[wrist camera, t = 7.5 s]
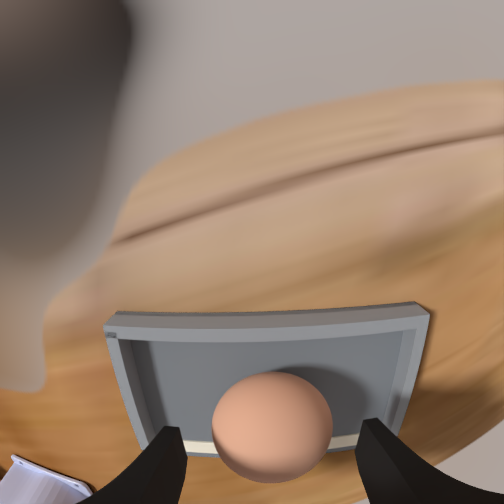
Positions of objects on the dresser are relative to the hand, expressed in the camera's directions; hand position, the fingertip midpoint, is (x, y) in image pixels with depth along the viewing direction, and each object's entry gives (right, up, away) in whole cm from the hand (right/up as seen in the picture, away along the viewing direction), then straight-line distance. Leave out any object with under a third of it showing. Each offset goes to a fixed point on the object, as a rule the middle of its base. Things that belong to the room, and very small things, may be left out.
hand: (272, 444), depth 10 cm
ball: (0, 0, +1) cm, 1 cm away
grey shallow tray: (0, 0, +4) cm, 4 cm away
